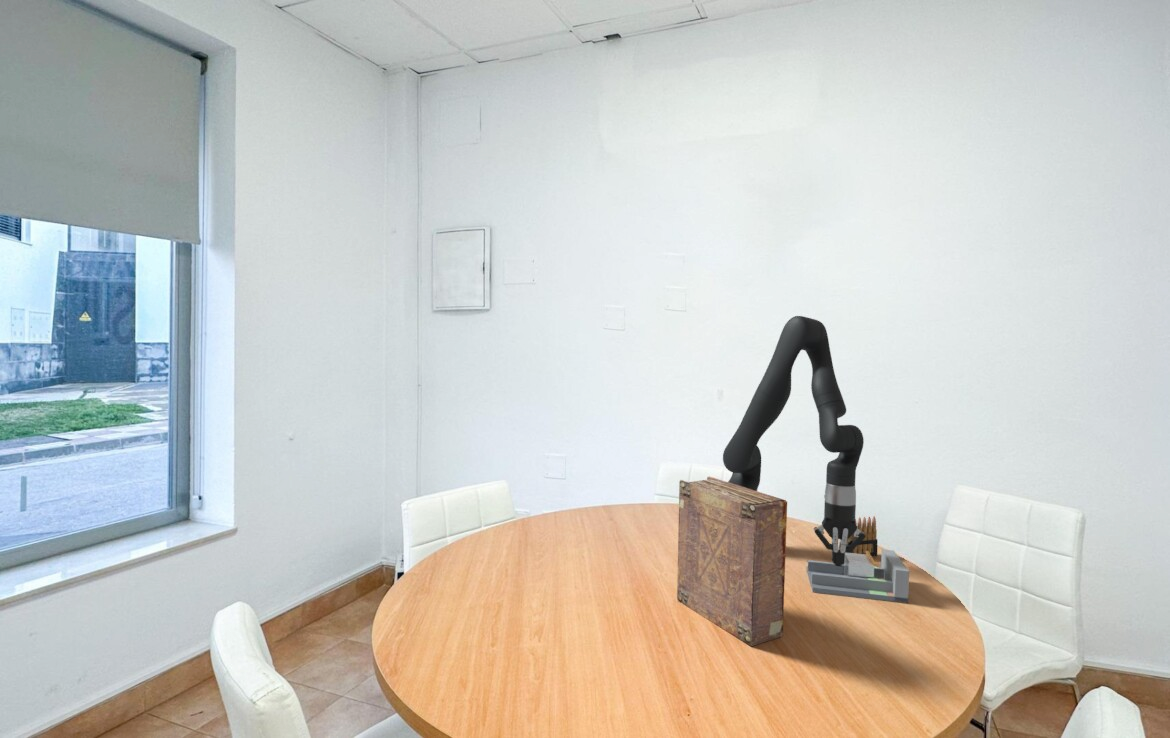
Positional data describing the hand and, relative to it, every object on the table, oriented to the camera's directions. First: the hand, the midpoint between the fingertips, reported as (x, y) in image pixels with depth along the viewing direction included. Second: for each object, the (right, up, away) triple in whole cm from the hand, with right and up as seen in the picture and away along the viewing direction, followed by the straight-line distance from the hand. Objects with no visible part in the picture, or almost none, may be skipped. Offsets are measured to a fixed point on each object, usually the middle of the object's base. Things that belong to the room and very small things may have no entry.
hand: (838, 565), depth 154 cm
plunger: (+5, -4, -1) cm, 6 cm away
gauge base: (+4, -5, -1) cm, 6 cm away
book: (-34, -6, -19) cm, 40 cm away
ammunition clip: (+16, -5, +21) cm, 27 cm away
